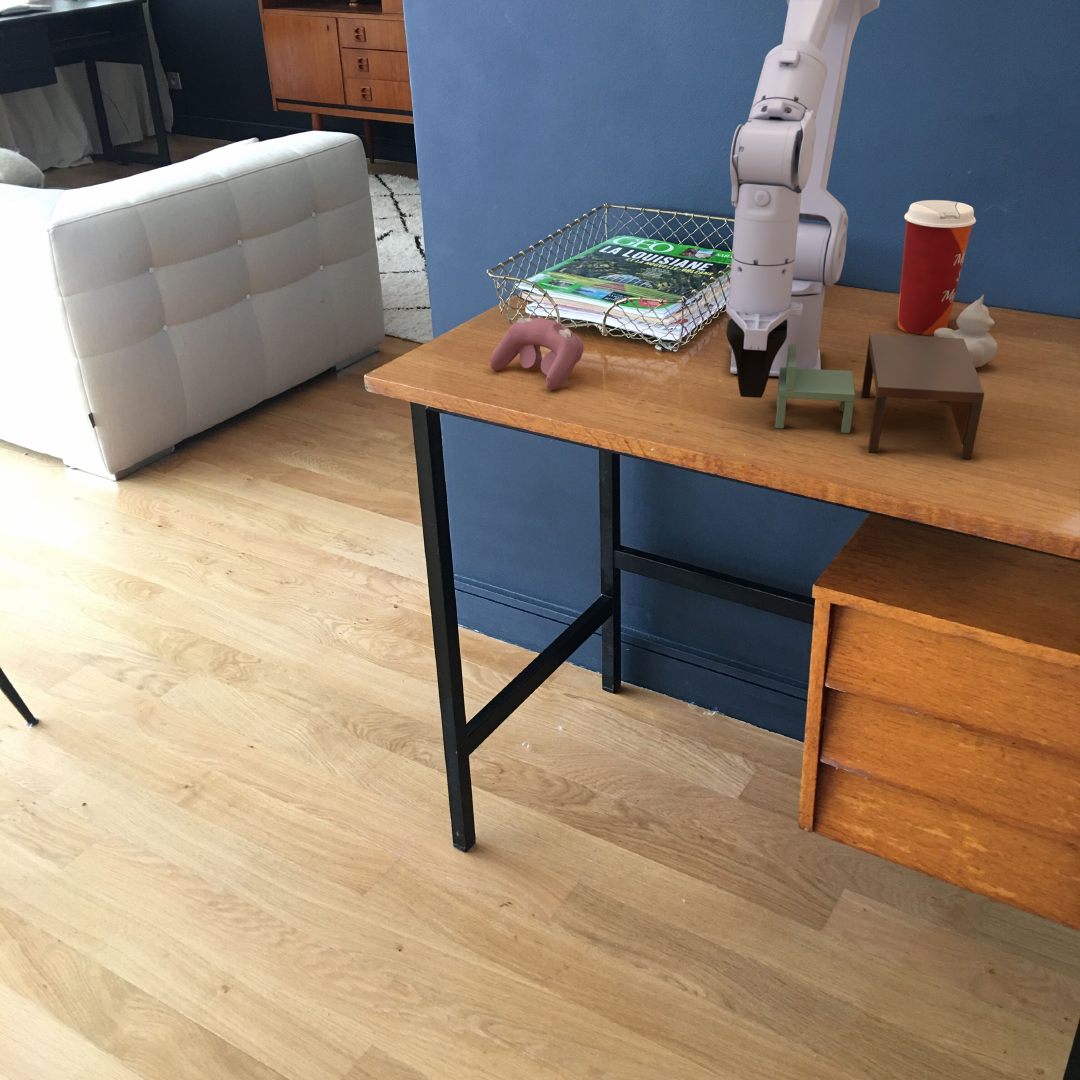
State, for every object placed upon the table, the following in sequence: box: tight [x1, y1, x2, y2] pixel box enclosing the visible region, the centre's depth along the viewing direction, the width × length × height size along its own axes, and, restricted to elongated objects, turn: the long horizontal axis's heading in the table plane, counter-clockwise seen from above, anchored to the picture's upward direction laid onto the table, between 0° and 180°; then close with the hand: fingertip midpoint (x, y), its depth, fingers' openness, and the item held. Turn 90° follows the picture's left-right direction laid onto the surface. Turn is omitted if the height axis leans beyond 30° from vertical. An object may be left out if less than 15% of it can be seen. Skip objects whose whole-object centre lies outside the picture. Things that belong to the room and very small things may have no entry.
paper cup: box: [897, 199, 977, 336], centre depth 126 cm, size 8×8×14 cm
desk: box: [860, 333, 985, 460], centre depth 104 cm, size 9×14×6 cm, turn 169°
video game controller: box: [489, 317, 584, 391], centre depth 118 cm, size 10×5×7 cm, turn 47°
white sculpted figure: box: [933, 293, 998, 369], centre depth 117 cm, size 5×7×8 cm
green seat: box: [774, 344, 856, 434], centre depth 106 cm, size 7×6×6 cm
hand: (751, 394), depth 108 cm, fingers closed
